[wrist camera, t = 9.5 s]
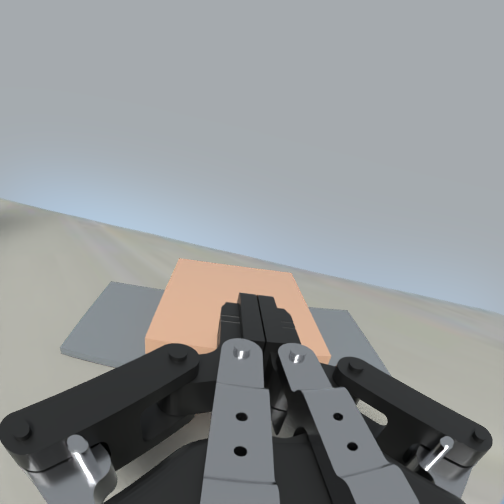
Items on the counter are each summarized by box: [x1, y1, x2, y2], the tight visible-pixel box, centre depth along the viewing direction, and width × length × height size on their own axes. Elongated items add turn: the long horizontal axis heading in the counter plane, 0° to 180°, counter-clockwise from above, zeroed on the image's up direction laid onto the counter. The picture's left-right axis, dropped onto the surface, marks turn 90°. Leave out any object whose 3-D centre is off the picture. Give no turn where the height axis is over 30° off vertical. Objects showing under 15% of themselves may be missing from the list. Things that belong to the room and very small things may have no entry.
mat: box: [60, 281, 392, 377], centre depth 21 cm, size 22×10×1 cm, turn 94°
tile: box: [145, 258, 331, 364], centre depth 21 cm, size 10×3×12 cm
